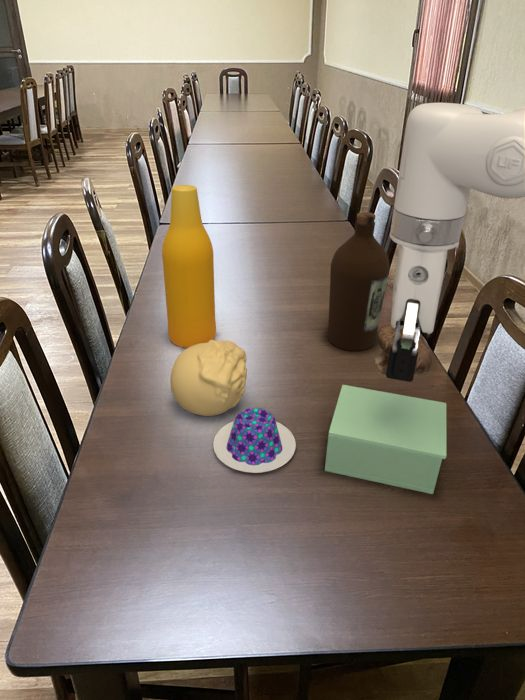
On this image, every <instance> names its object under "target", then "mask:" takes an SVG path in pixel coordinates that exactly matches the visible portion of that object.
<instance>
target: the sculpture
mask: <svg viewBox="0 0 525 700" xmlns="http://www.w3.org/2000/svg"><path fill="white" fill-rule="evenodd" d="M247 359H248V358H247V353H246V351H245V350H244V349H243V348H241V347H240V346H239V345H238V344H237V343H235V342H233V341H232V340H219V341H218V340H215V339H213V340H210V341H209V342H207V343H200V344H196V345H193V346H191V347H189V348H185V349H184V350H182V351H181V353H180V354H179V355H178V356H177V358H176V359H175V361H174V363H173V365H172V368H171V373H170V379H169V381H170V389H171V393H172V395H173V398H174V399H175V401H176V403H178V405H179V406H180V407H181V408H182V409H184V410H185V411H187V412H189V413H191V414H194V415H198V416H203V417H214V416H219V415H221V414H224V413H226V412H227V411H229V410H230V409H233V408H235V407H236V406H237V404H238V403H239V402H240V401H241V399H242V397H243V395H244V394H245V393H246V389H245V388H244V387H246V384H247V377H248V375H247V374H248V369H247V367H246V366H247V365H246V363H247Z"/></svg>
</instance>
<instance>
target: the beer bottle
mask: <svg viewBox="0 0 525 700" xmlns="http://www.w3.org/2000/svg"><path fill="white" fill-rule="evenodd" d="M170 195H171V198H170V220H169V226H168V229H167V231H166V234H165V236H164V239H163V242H162V246H161V248H162V249H161V259H162V268H163V269H162V270H163V280H164V292H165V294H164V295H165V305H166V316H167V334H168V338H169V340H170V341H171V342H172V343H173V344H174V345H175V346H177V347H179V348H180V347H181V348H185V349H187V348H189V347H191V346H193V345H196V344H200V343H207V342H209V341H210V340H215V338H216V333H217V322H216V296H215V267H214V248H213V243H212V241H211V238H210V236H209V234H208V232H207V230H206V228H205V226H204V223H203V221H202V214H201V208H200V200H199V195H198V189H197V187H196V186H195V185H192V184H191V185H190V184H179V185H178V184H177V185H174V186H172V187H171V194H170Z"/></svg>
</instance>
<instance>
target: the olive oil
mask: <svg viewBox="0 0 525 700" xmlns="http://www.w3.org/2000/svg"><path fill="white" fill-rule="evenodd" d="M375 220H376V214H375V213H373V212H370V211H361V212H358V213H356V220H355V224H354V234H353V235H352V236H350V238H348V239H347V240H346V241H344V243H342V244H341V245H340V246H339V247H337V249H336V251H335V252H334V254H333V257H332V259H331V262H330V271H329V272H330V273H329V275H330V276H329V280H330V281H329V302H328V322H327V323H328V324H327V340H328V342H329V343H330V344H331V345H333V346H334V347H336V348H338V349H341V350H346V351H350V352H360V351H365V350H368V349H370V348H372V347H373V346H374V345H375V344H376V341H377V338H376V334H377V331H378V330H379V325H380V324H379V323H380V319H381V314H382V309H383V303H384V300H385V296H386V295H385V294H386V290H387V284H388V281H389V275H390V259H389V256H388V254H387V252H386V250H385V249H384V247H383V246H382V245H381V244H380V243H379V241H378V240H377V239H376V238H375V236H374V234H375V227H376V222H375Z"/></svg>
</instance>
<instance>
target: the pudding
mask: <svg viewBox="0 0 525 700" xmlns="http://www.w3.org/2000/svg"><path fill="white" fill-rule="evenodd" d="M212 446H213V450H214V453H215V455H216V457H217V458H218V460H219V461H221V462H222V463H223V464H224V465H225V466H227V467H229V468H231V469H233V470H236V471H240V472H243V473H254V474H256V473H257V474H258V473H266V472H271V471H273V470H277V469H279V468H280V467H282V466H284V465H285V464H287V463H288V462H289V461H290V460H291V459H292V458H293V456H294V455H295V453H296V450H297V449H296V448H297V443H296V439H295V436H294V434H293V433H292V432H291V430H290V429H288V427H286V426H285V425H283V424H282V423H281V422H278V421H276V418H275V416H274V414H272V412H269V411H267V410H266V409H264V408H261V407H260V408H259V407H258V408H254V407H249V408H246V409H244V410H241V411H240V412H238V413H237V414H236V415H235V418H234V420H233V421H232V420H231V421H230V422H229V423H226V424H225V425H224V426H222V427H220V429H219V430H218V431H217V432H216V434H215V436H214V438H213V443H212Z"/></svg>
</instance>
